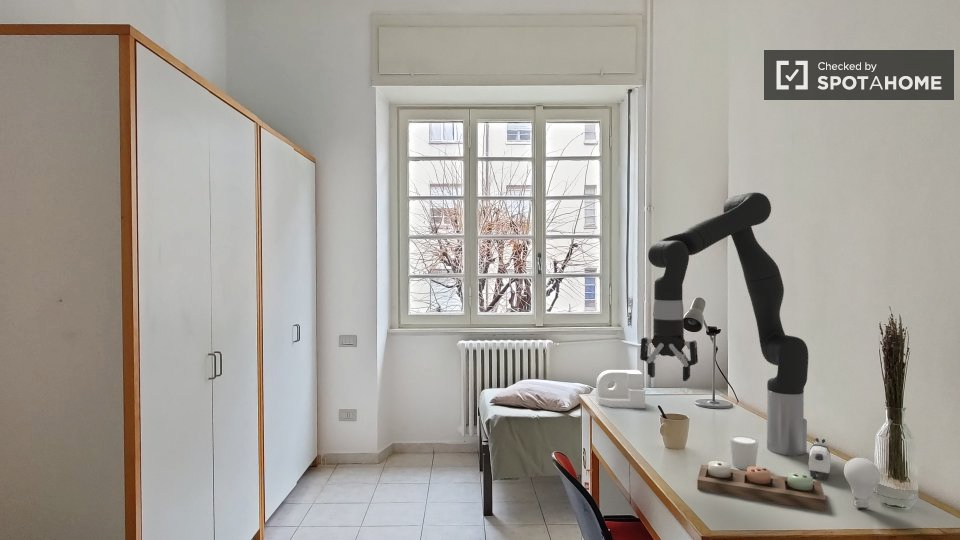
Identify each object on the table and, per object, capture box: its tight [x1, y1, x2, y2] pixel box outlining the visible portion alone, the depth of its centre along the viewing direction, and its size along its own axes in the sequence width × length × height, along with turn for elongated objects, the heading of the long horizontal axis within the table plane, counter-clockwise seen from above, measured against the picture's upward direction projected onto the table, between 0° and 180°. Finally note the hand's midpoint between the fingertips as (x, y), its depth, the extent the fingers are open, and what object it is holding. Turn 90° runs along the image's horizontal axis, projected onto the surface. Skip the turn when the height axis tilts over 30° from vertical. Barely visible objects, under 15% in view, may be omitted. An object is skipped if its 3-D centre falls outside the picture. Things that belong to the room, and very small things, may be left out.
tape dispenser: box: [595, 369, 646, 409], centre depth 212 cm, size 16×10×13 cm, turn 88°
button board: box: [696, 464, 827, 512], centre depth 133 cm, size 26×11×2 cm, turn 64°
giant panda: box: [808, 437, 831, 481], centre depth 144 cm, size 12×5×8 cm, turn 147°
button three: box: [746, 465, 772, 484], centre depth 133 cm, size 5×5×2 cm
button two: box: [787, 471, 814, 490], centre depth 129 cm, size 5×5×2 cm
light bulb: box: [843, 457, 881, 510], centre depth 123 cm, size 7×7×11 cm
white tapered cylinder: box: [729, 435, 759, 471], centre depth 149 cm, size 7×7×7 cm
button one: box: [707, 460, 732, 478], centre depth 136 cm, size 5×5×2 cm
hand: (668, 378), depth 148 cm, fingers open, 8 cm apart
